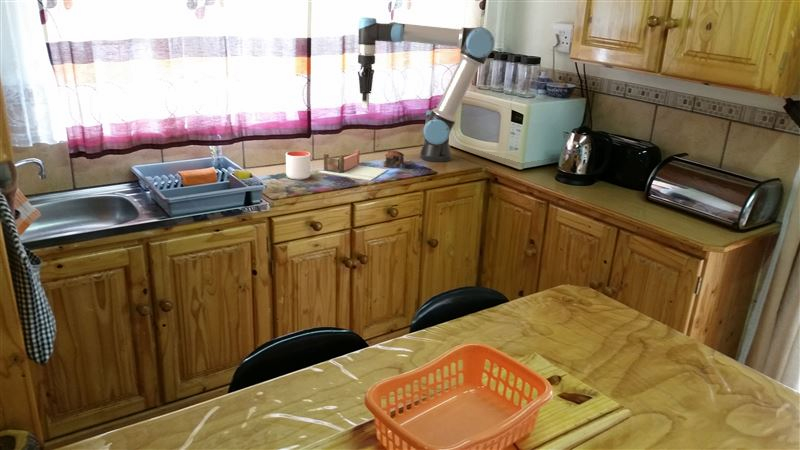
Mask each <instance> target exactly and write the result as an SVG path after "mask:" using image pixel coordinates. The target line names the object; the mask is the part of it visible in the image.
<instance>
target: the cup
mask: <svg viewBox="0 0 800 450" xmlns="http://www.w3.org/2000/svg"><path fill="white" fill-rule="evenodd" d="M285 174H286V177H287V178H288V179H291V180H300V181H301V180H307V179H308V178H310V177H311V153H310V152H308V151H304V150H303V151H302V150H293V151H292V150H291V151H287V152H285Z"/></svg>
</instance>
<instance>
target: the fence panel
mask: <svg viewBox="0 0 800 450" xmlns="http://www.w3.org/2000/svg"><path fill="white" fill-rule="evenodd" d="M360 151H361V150H359V149H355V150H354V153H353V154H350V155H348V156H346V157H344V171H345V170H347V169H350V168H352V167H354V166H357V165H359V166H360V153H361V152H360Z"/></svg>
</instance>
